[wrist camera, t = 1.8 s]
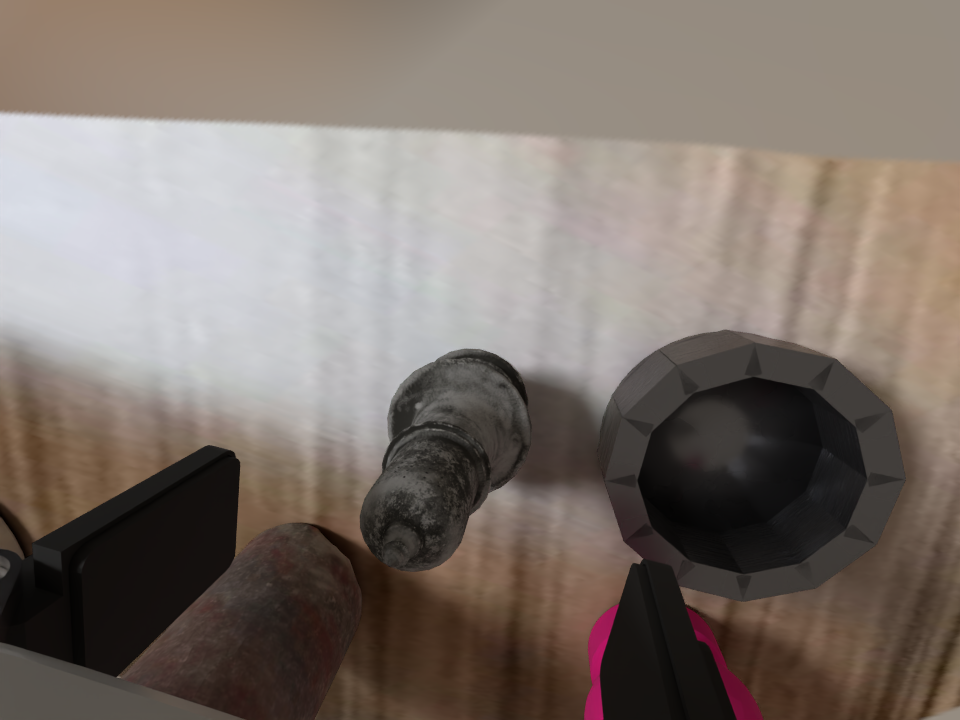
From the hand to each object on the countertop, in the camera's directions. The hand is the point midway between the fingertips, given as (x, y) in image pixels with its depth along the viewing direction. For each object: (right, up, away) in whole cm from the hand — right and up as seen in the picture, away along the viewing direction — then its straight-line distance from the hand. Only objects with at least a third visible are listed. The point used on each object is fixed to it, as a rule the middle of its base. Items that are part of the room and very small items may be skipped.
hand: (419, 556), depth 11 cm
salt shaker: (+1, +3, +12) cm, 12 cm away
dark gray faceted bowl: (+12, +1, +10) cm, 16 cm away
